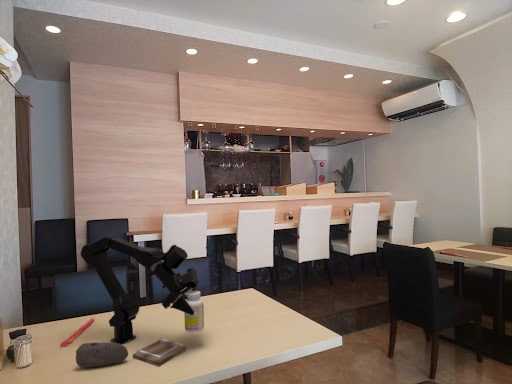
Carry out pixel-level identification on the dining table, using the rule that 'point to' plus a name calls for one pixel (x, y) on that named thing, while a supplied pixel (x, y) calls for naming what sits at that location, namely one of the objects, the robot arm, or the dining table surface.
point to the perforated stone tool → (100, 354)
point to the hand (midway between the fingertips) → (197, 310)
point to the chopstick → (76, 333)
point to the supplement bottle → (197, 319)
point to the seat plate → (159, 352)
